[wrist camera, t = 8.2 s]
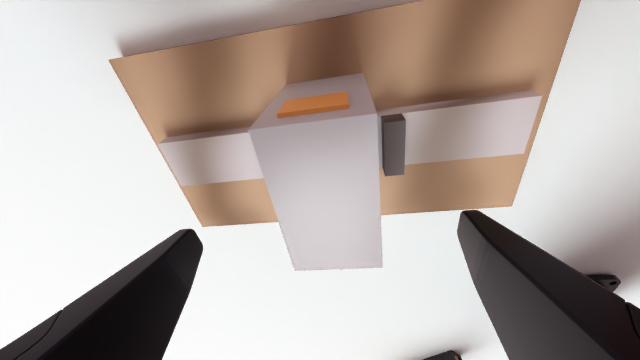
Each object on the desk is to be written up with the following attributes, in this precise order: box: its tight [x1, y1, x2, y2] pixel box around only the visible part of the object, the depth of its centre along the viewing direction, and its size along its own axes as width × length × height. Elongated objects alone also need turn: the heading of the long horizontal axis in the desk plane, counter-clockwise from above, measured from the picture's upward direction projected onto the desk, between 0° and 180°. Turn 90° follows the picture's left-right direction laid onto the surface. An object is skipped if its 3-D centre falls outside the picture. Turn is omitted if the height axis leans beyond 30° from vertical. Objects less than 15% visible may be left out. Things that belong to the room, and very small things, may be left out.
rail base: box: [109, 0, 581, 227], centre depth 14 cm, size 22×12×3 cm, turn 99°
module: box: [248, 73, 383, 271], centre depth 12 cm, size 4×7×6 cm, turn 9°
